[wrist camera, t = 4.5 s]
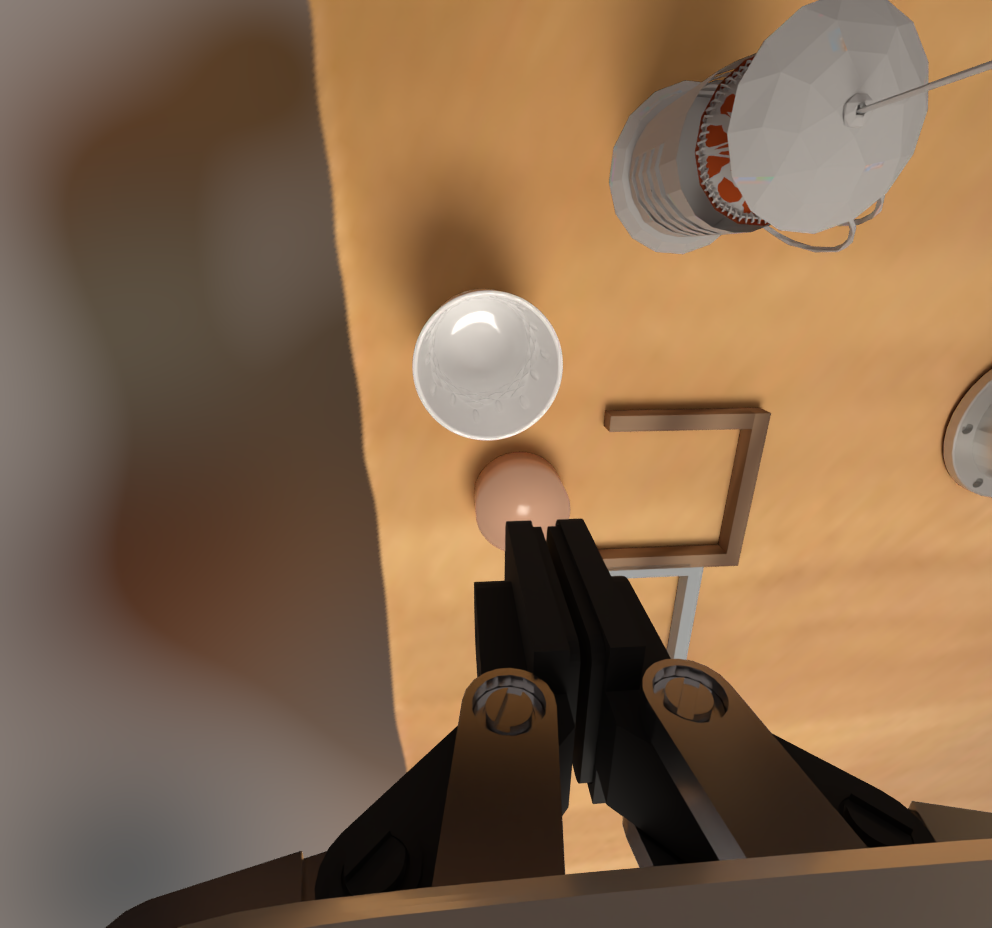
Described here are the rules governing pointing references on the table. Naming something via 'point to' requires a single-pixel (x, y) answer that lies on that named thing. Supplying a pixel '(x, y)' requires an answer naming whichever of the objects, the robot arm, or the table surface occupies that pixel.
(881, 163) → the french press
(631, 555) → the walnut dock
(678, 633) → the frame
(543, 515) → the beige flattened dome
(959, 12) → the table surface
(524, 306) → the white cup
